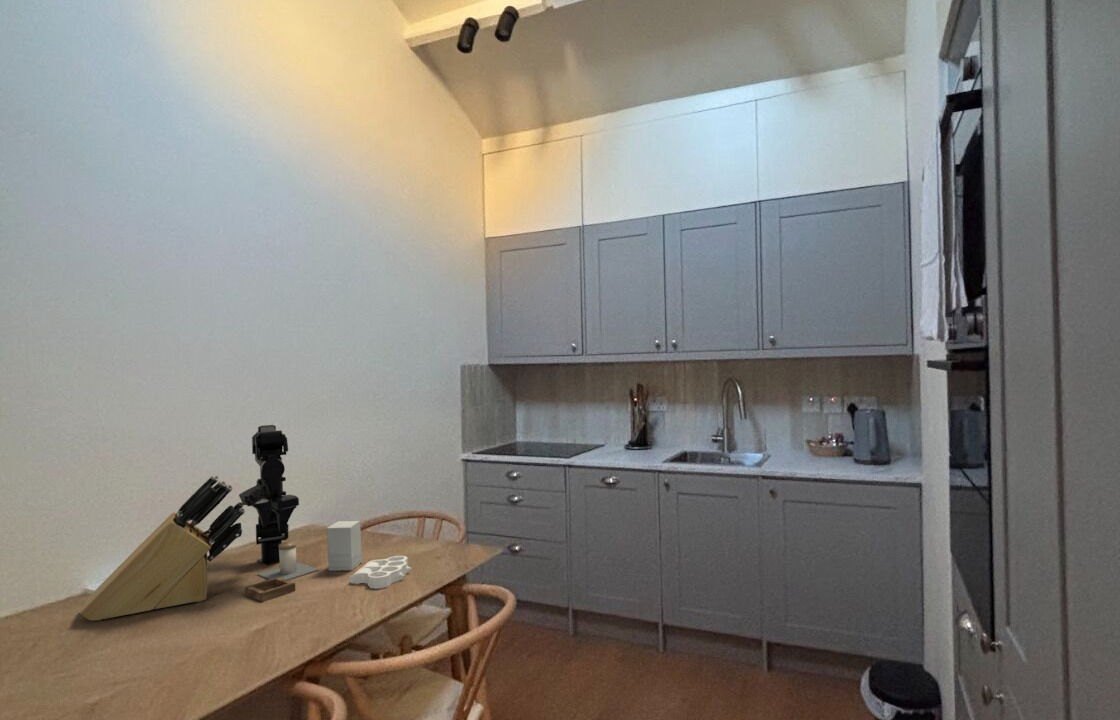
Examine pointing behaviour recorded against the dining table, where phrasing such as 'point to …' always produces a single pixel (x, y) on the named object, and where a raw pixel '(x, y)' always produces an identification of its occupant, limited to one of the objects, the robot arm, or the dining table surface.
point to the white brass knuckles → (381, 572)
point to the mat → (300, 571)
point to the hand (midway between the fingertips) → (273, 529)
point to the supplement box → (344, 545)
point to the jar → (287, 557)
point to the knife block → (170, 559)
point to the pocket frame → (279, 583)
